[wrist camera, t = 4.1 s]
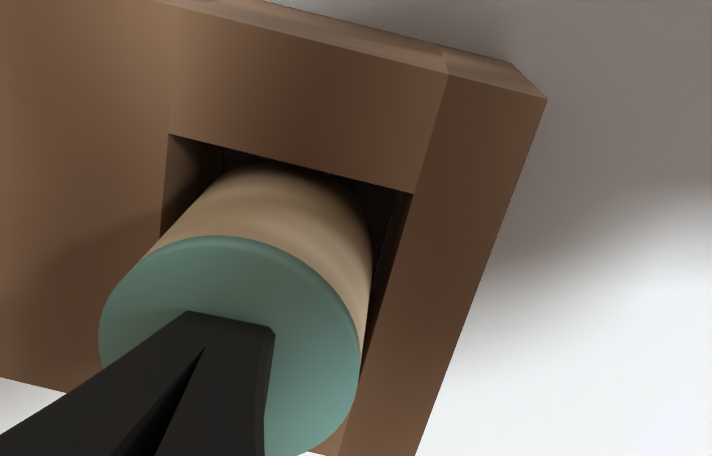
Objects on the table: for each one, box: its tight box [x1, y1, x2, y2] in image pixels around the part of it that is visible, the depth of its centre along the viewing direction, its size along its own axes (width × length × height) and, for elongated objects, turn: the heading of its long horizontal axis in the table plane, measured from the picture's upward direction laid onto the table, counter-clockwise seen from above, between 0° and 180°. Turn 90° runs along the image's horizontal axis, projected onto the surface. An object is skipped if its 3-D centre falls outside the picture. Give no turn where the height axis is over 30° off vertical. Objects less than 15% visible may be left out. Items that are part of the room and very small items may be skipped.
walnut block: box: [0, 0, 548, 456], centre depth 13 cm, size 16×9×4 cm, turn 77°
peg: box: [98, 159, 375, 456], centre depth 10 cm, size 4×4×4 cm
